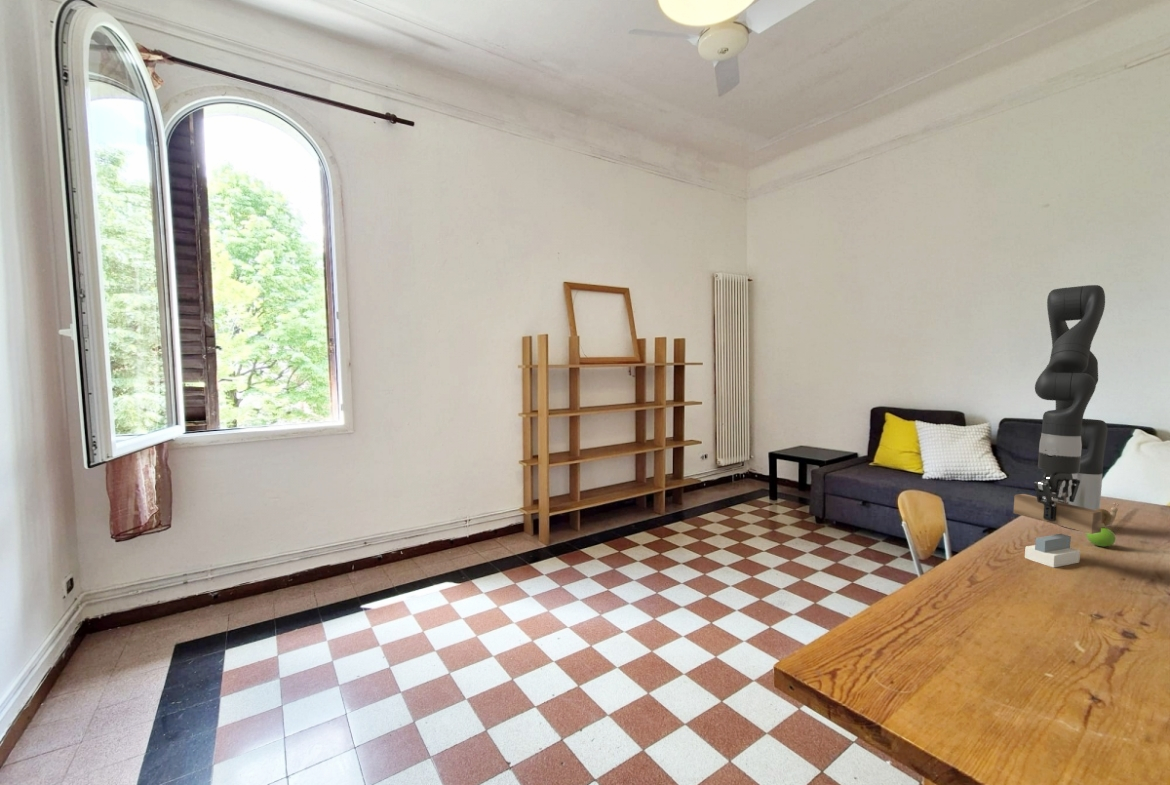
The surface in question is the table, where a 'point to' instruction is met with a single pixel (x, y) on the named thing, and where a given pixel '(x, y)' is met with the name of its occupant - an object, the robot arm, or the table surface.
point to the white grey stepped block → (1053, 551)
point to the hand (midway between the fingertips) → (1054, 519)
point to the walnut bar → (1060, 514)
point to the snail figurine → (1104, 529)
